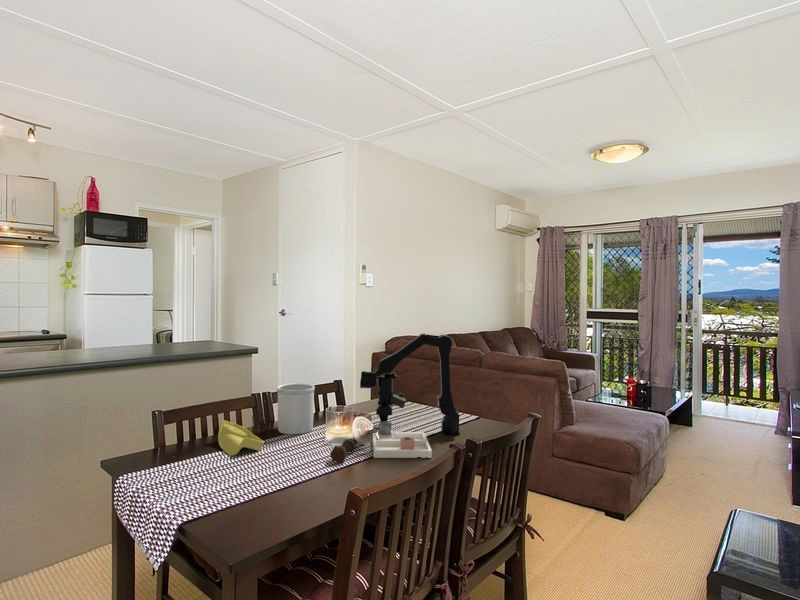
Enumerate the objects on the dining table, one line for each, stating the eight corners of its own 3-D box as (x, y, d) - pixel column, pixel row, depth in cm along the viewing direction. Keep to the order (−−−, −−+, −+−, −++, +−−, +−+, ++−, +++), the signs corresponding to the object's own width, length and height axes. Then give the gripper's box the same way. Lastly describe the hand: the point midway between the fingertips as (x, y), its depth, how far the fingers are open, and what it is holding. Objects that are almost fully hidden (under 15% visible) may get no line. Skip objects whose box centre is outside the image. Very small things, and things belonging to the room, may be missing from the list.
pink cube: (413, 447, 168) (413, 435, 168) (414, 452, 164) (415, 439, 163) (399, 447, 168) (400, 435, 168) (400, 452, 163) (401, 439, 163)
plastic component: (266, 443, 164) (242, 436, 157) (256, 464, 162) (232, 457, 155) (242, 425, 178) (219, 418, 172) (233, 444, 176) (210, 437, 170)
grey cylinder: (390, 431, 187) (391, 420, 187) (391, 435, 182) (391, 423, 182) (378, 431, 187) (378, 419, 187) (378, 435, 182) (379, 423, 182)
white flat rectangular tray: (421, 431, 190) (421, 425, 190) (431, 457, 161) (431, 450, 161) (372, 431, 188) (372, 425, 188) (373, 457, 159) (374, 450, 159)
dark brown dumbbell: (354, 452, 169) (339, 466, 154) (343, 444, 170) (327, 457, 155) (362, 439, 168) (348, 452, 153) (351, 431, 169) (336, 443, 155)
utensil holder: (268, 429, 186) (269, 386, 186) (297, 421, 198) (298, 381, 198) (292, 437, 177) (293, 392, 177) (321, 429, 189) (322, 386, 189)
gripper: (405, 394, 180) (404, 434, 180) (405, 384, 199) (404, 420, 199) (376, 393, 180) (375, 433, 180) (379, 383, 199) (378, 420, 199)
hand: (384, 426), depth 190 cm, fingers closed
